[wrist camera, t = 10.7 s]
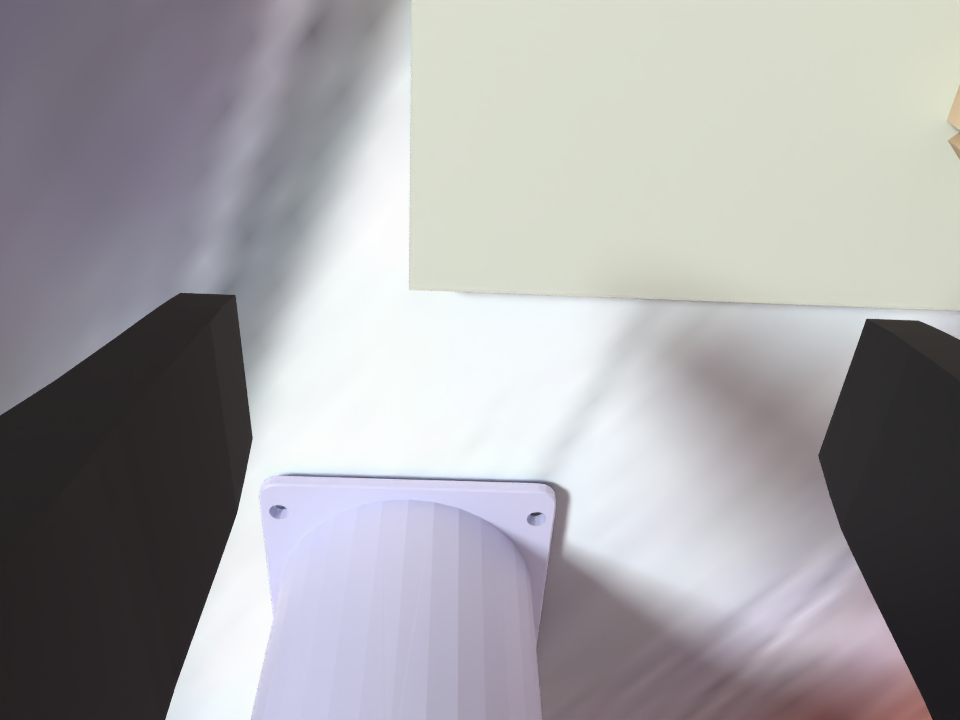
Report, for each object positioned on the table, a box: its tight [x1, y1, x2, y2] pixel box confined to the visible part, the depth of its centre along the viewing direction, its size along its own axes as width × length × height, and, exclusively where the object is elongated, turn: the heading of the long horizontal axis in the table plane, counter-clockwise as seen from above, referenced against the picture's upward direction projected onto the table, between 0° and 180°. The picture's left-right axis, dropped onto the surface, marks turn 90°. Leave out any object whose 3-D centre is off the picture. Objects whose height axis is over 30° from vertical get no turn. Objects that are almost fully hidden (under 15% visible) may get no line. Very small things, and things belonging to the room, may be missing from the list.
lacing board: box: [409, 0, 960, 311], centre depth 15 cm, size 10×17×6 cm, turn 87°
